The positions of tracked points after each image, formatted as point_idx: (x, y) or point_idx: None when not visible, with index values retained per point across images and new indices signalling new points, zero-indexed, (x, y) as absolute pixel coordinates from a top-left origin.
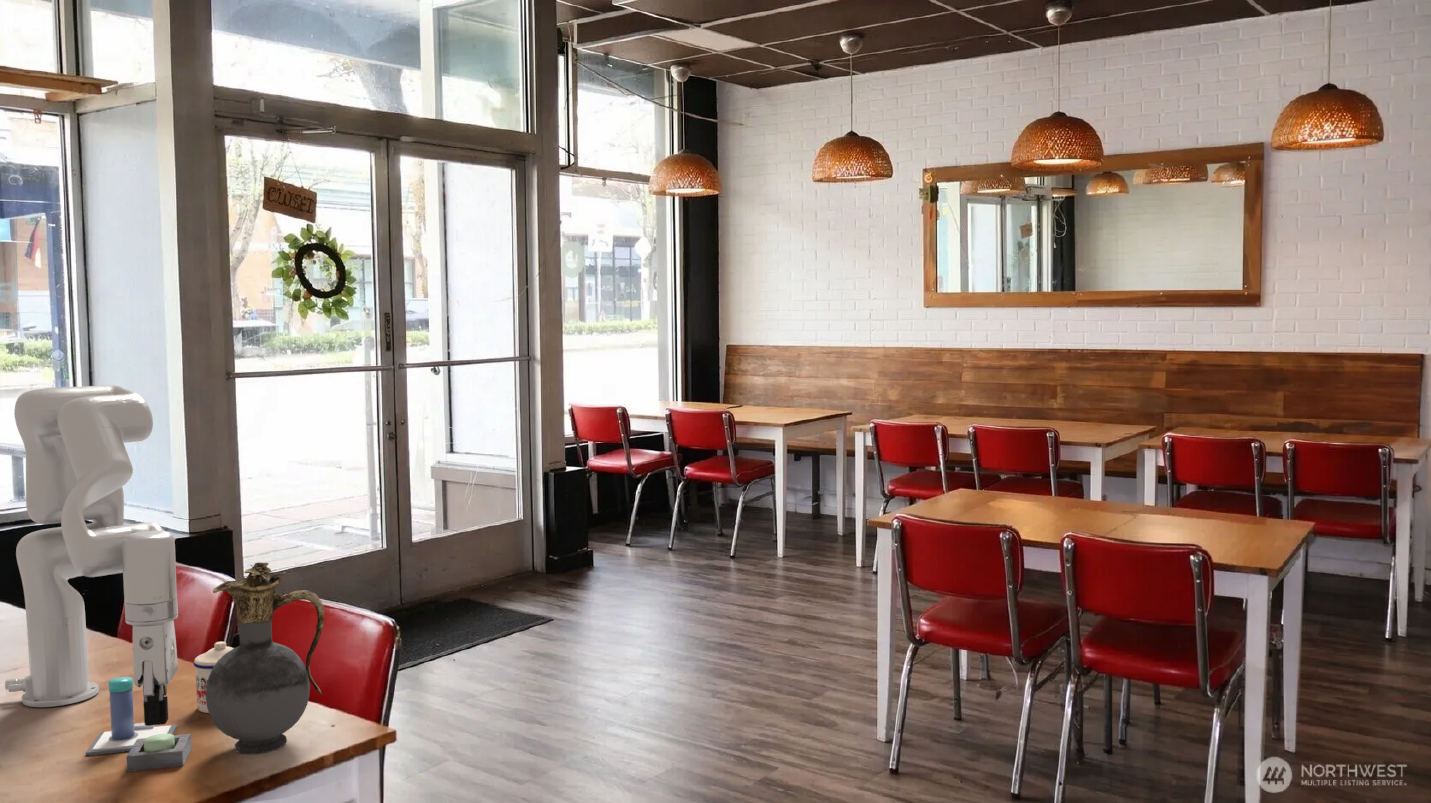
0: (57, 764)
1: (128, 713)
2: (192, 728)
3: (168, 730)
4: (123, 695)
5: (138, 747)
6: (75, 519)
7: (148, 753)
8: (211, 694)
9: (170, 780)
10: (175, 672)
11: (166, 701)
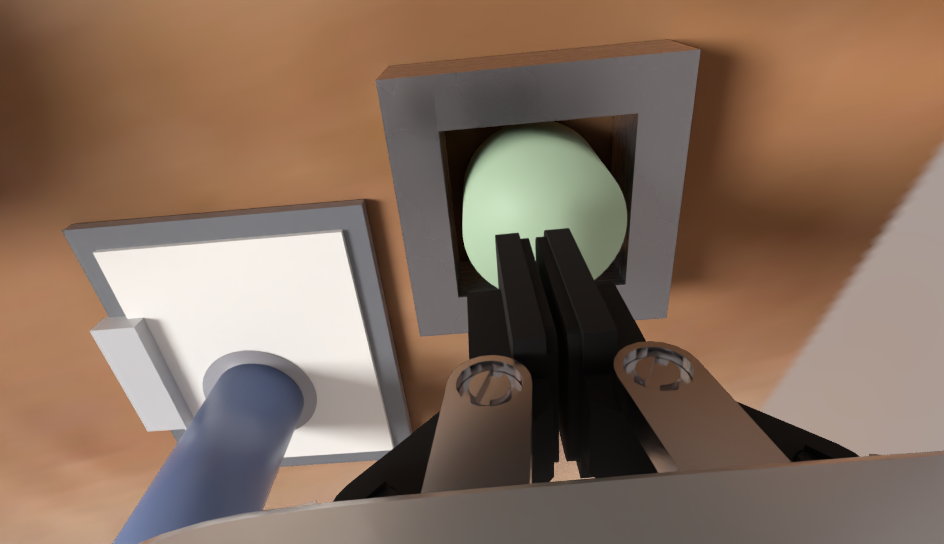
0: None
1: (239, 459)
2: (72, 144)
3: (167, 246)
4: None
5: None
6: None
7: (661, 233)
8: None
9: (861, 53)
10: (433, 503)
11: (541, 315)
